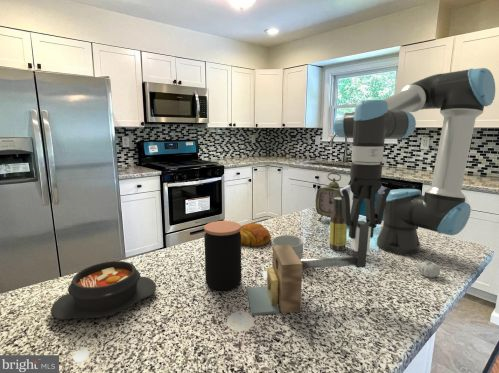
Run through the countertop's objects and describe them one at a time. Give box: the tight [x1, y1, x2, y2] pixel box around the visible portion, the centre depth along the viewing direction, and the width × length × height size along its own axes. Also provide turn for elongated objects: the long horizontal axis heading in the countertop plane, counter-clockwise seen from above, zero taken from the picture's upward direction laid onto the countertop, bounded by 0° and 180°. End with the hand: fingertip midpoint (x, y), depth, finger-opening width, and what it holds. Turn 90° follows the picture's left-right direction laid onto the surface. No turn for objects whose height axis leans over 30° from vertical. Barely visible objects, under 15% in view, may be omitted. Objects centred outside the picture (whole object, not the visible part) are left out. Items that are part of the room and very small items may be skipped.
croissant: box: [240, 222, 272, 247], centre depth 120 cm, size 14×16×8 cm
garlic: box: [417, 260, 441, 278], centre depth 91 cm, size 6×5×5 cm
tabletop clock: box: [315, 172, 344, 221], centre depth 143 cm, size 14×9×25 cm, turn 50°
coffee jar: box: [203, 220, 242, 293], centre depth 85 cm, size 11×11×18 cm
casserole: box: [50, 260, 157, 321], centre depth 77 cm, size 25×19×8 cm
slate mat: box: [246, 285, 280, 316], centre depth 78 cm, size 7×12×1 cm, turn 7°
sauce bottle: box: [329, 197, 348, 251], centre depth 111 cm, size 6×6×20 cm
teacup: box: [271, 233, 304, 259], centre depth 102 cm, size 14×11×8 cm
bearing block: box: [271, 245, 303, 314], centre depth 78 cm, size 5×12×13 cm, turn 7°
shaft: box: [300, 220, 369, 270], centre depth 77 cm, size 20×3×12 cm, turn 97°
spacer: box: [266, 267, 278, 306], centre depth 78 cm, size 2×7×7 cm, turn 7°
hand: (359, 248), depth 79 cm, fingers closed on shaft, 2 cm apart
